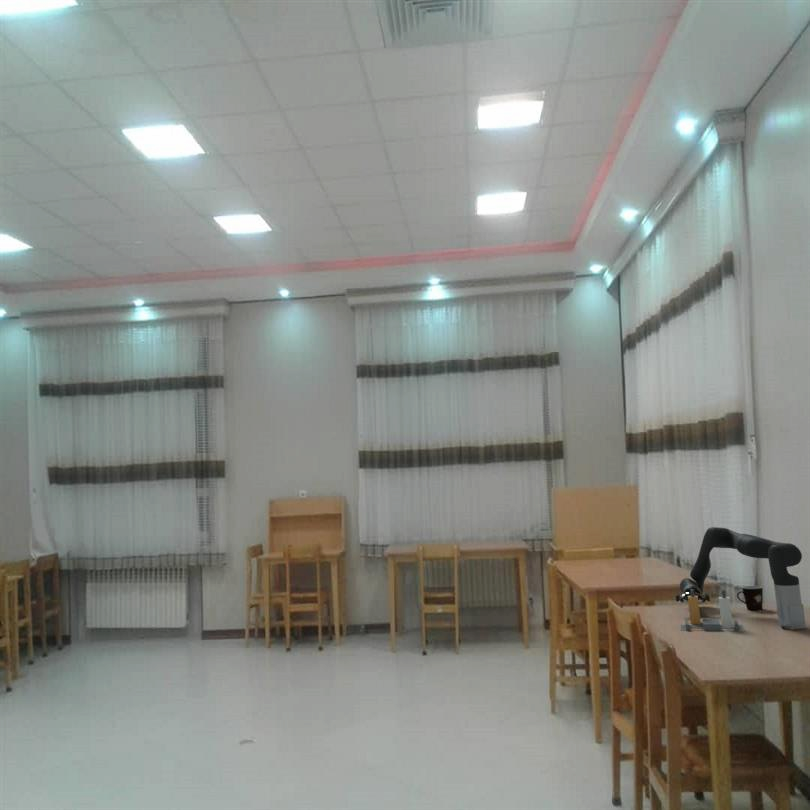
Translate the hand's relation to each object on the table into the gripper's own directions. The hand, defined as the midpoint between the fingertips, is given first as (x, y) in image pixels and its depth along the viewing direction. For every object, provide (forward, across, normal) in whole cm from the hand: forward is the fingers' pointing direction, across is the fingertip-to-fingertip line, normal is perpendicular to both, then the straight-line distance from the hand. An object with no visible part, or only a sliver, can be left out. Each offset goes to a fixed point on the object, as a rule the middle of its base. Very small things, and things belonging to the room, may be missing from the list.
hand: (692, 600), depth 333 cm
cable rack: (+21, +6, +8) cm, 24 cm away
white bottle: (+21, +12, +7) cm, 26 cm away
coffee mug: (-23, +25, +9) cm, 35 cm away
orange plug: (+12, 0, +8) cm, 14 cm away
